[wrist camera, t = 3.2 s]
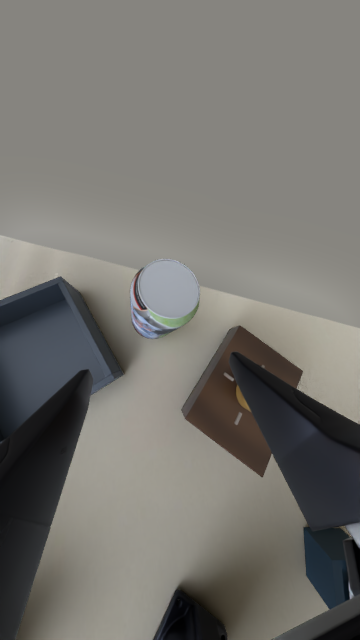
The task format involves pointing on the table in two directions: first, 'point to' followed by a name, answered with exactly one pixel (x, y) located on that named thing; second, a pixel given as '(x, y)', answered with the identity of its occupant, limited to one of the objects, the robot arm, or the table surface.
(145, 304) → the beverage can
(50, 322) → the dark gray square tray
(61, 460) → the robot arm
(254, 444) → the brown dial base
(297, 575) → the table surface
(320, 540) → the watch
